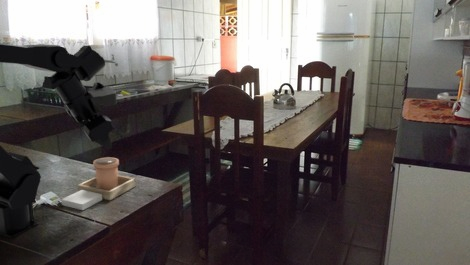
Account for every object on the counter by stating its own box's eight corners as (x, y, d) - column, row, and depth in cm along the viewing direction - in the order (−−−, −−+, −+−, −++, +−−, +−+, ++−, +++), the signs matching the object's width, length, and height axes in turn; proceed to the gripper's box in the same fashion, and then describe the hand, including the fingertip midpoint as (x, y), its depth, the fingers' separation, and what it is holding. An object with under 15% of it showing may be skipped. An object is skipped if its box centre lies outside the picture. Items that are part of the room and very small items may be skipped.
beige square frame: (110, 200, 93) (109, 192, 92) (78, 192, 97) (77, 185, 96) (135, 186, 102) (135, 178, 102) (105, 179, 106) (105, 172, 106)
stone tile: (82, 210, 87) (82, 204, 87) (62, 204, 90) (61, 199, 89) (102, 199, 93) (102, 194, 93) (82, 195, 96) (81, 189, 95)
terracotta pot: (109, 196, 96) (107, 166, 94) (89, 191, 98) (87, 162, 96) (125, 187, 101) (123, 159, 99) (106, 183, 104) (104, 155, 102)
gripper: (119, 89, 84) (145, 138, 94) (89, 64, 96) (115, 110, 106) (74, 115, 80) (107, 163, 90) (49, 86, 92) (80, 131, 102)
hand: (103, 139), depth 97 cm, fingers open, 9 cm apart
